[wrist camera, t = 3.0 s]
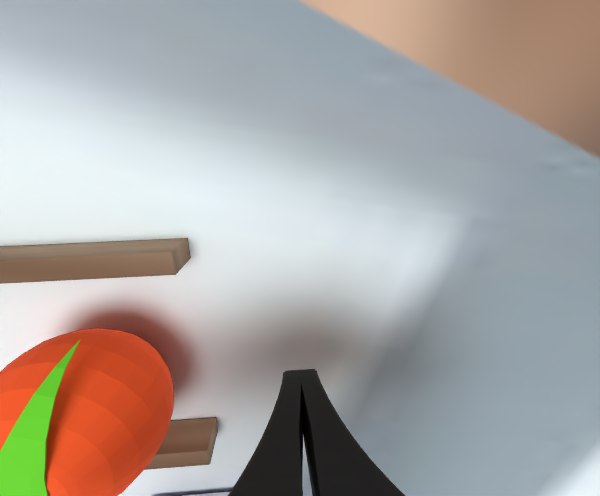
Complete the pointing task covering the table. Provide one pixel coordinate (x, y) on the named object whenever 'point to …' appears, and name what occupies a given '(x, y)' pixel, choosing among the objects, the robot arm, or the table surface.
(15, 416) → the clementine
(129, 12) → the table surface
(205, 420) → the lane rails
